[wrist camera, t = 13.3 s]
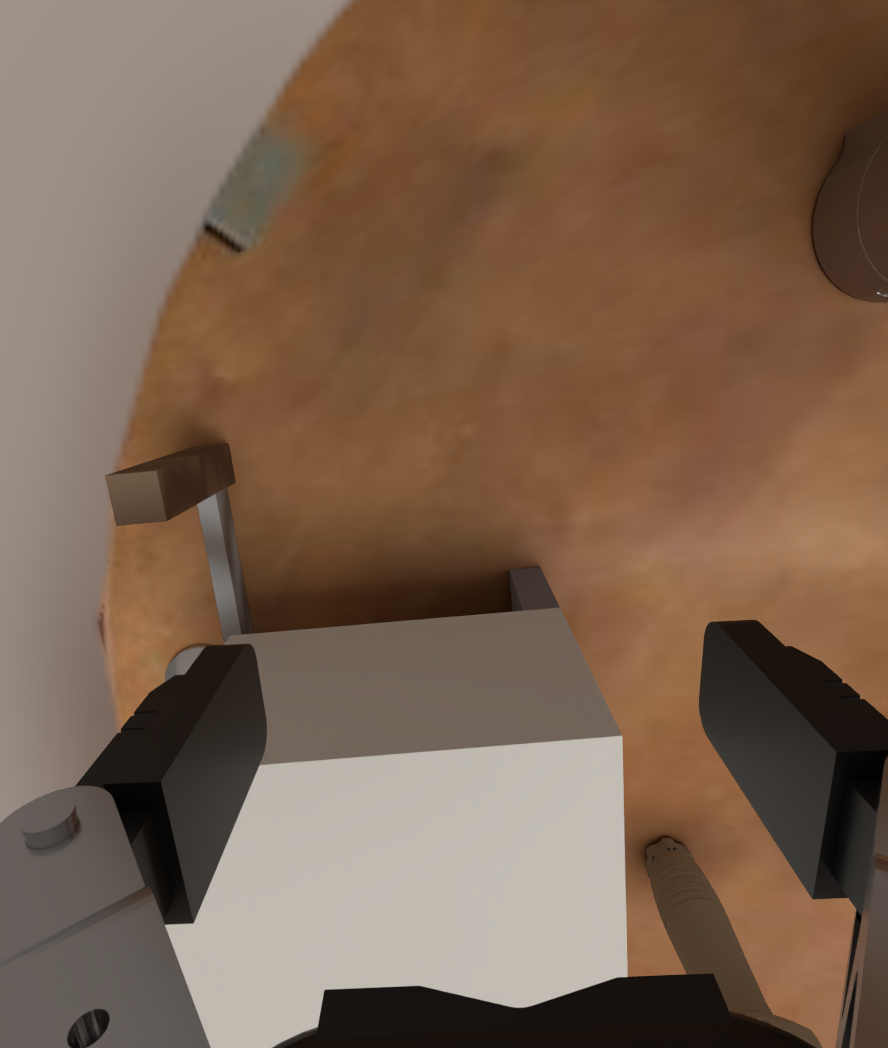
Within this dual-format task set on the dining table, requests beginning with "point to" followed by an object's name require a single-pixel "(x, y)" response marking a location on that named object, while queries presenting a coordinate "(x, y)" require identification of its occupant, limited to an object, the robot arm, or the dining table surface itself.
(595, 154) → the dining table surface
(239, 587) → the blade tool
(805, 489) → the dining table surface
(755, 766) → the robot arm
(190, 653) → the ball
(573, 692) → the cabinet
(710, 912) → the handle
